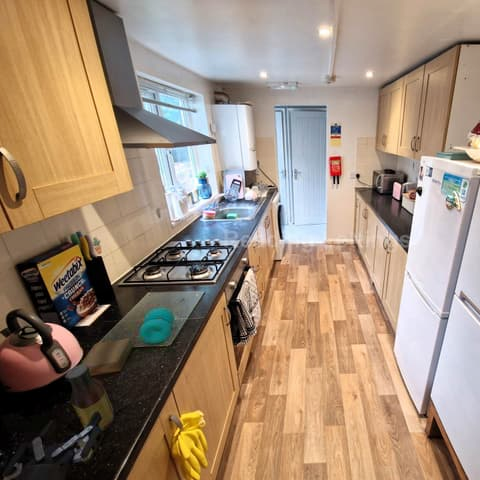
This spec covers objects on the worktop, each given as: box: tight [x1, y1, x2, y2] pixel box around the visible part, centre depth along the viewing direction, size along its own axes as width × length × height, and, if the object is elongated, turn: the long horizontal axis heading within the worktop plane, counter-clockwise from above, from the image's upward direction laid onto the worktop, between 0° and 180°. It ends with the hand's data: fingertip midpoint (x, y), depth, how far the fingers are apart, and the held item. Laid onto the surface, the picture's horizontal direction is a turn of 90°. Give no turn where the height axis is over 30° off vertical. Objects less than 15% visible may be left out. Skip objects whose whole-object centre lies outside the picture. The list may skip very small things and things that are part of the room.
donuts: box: [139, 307, 175, 344], centre depth 100 cm, size 10×10×10 cm
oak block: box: [79, 337, 134, 377], centre depth 90 cm, size 11×11×4 cm
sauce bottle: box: [65, 364, 115, 432], centre depth 67 cm, size 6×6×20 cm
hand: (76, 418), depth 61 cm, fingers open, 8 cm apart
